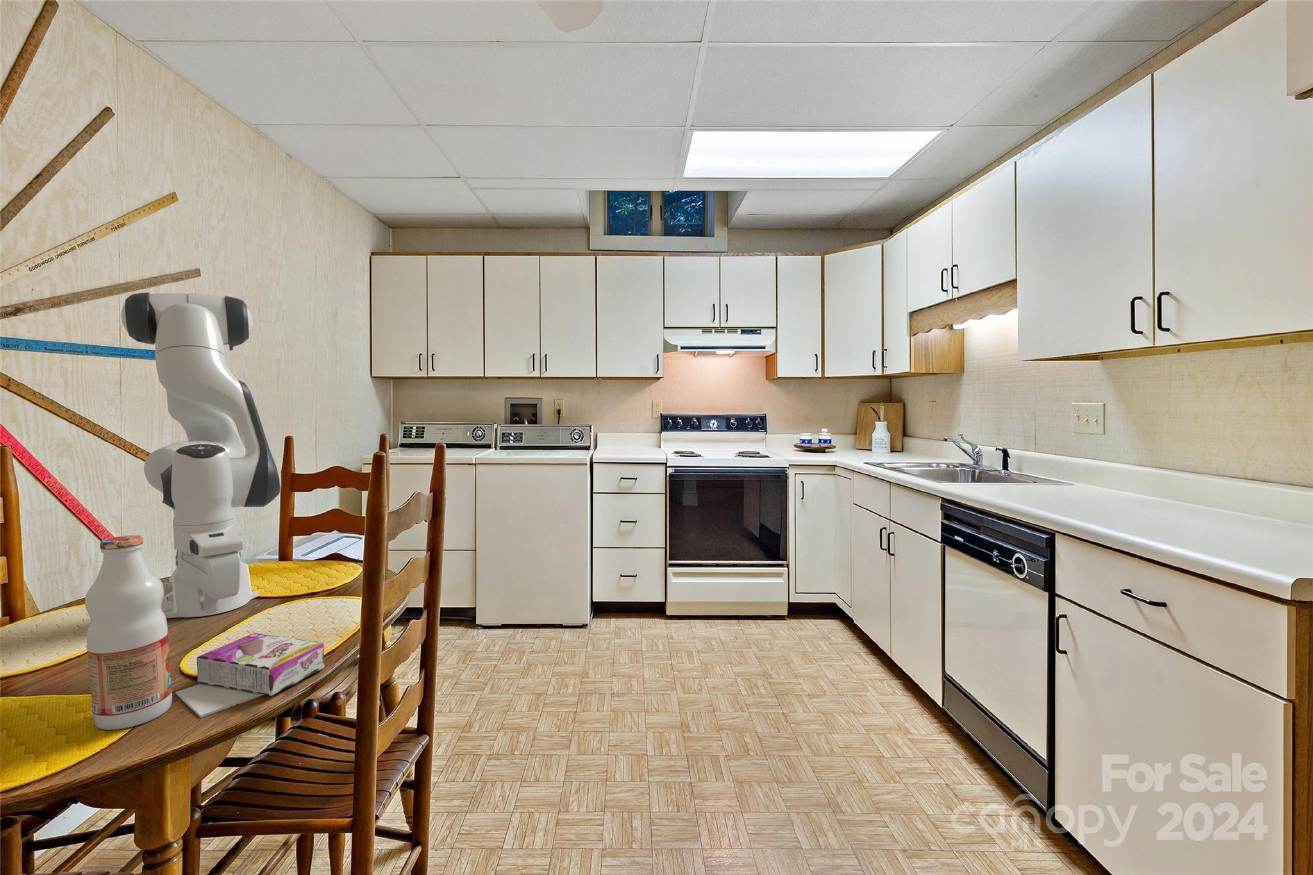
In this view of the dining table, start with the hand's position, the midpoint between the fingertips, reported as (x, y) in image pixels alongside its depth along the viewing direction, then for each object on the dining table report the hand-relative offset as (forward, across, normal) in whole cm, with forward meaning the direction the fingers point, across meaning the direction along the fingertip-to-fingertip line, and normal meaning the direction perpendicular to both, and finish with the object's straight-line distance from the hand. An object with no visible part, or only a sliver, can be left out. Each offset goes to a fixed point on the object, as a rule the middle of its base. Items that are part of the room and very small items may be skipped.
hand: (208, 611), depth 109 cm
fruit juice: (+11, +9, -13) cm, 19 cm away
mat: (+10, +12, 0) cm, 16 cm away
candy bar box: (+8, +4, +1) cm, 9 cm away
